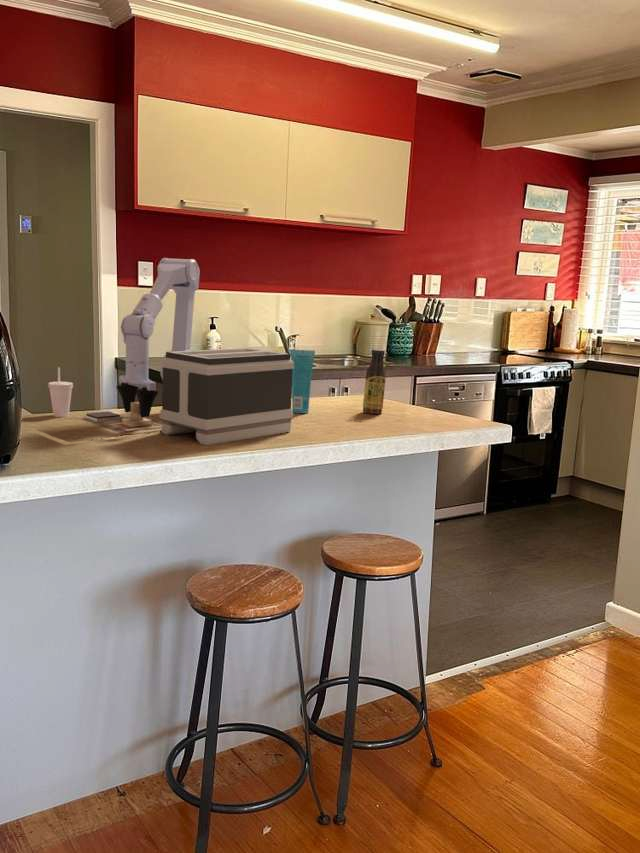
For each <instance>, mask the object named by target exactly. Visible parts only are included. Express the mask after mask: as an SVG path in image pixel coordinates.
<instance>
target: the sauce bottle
mask: <svg viewBox="0 0 640 853" xmlns="http://www.w3.org/2000/svg"><path fill="white" fill-rule="evenodd" d="M385 353H386V352H385V350H384V349H379V348H378V349H377V348H376V349H375V348H373V349H371V361H370V364H369V366H368V368H367V369H366V372H365V373H366V374H365V375H366V376H365V379H364V380H365V384H364V393H363V400H362V412H363V413H365V414H368V415H369V414H371V415H381V414H382V412H383V408H384V399H385V389H386V377H387V376H386V368H385V366H384V359H385V358H384V356H385V355H386V354H385Z"/></svg>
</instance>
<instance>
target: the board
mask: <svg viewBox="0 0 640 853" xmlns="http://www.w3.org/2000/svg"><path fill="white" fill-rule="evenodd" d="M118 414H119V415H120V416H123V419H131V412H126V413H118ZM143 418H146V419H150V420H152V426H149V427H139V428H128V427H125V426H122V420H119V421H110V422H100V423H96V422H93V421H90V420H87V419H84V417H78V418H77V419H79V420H81V421H84V422H87V423H90V424H93V425H96V426H99V427H102V428H104V429H106V430H107V429H108V430H111V431H114V432H116V433H121V434H122V435H121V434H119V437H122V436H124V434H123V433H126V436H130V435H132V436H133V433H132V432H136V433H135V435H139V434H141V432H140V431H145V432H143V434H148V433H149V431H150V430H154V431H151V433H154V432H158V430H159V429H160V432H162V420H160V419H159V418H155V417H151V416H149V417H143ZM157 429H158V430H157ZM148 430H149V431H148ZM129 432H131V433H129ZM127 433H128V434H127Z"/></svg>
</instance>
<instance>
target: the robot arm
mask: <svg viewBox="0 0 640 853" xmlns="http://www.w3.org/2000/svg"><path fill="white" fill-rule="evenodd" d="M200 271H201V269H200V267H199V265H198V263H197V260H196V259H193V258H190V259H189V258H187V259H184V258H168V257H163V258H161V259H160V261H159V264H158V265H157V277H156V280H155V281H154V284H153V285H152V288H151V290H150V291H149V293H145V294H143V295H142V296H141V298H140V300H139V302H138V303H137V304H136V306H135V308H134V309H133V311H132V312H131V313H130V314H127V315H126V316H124V317H123V319H122V321H121V325H120V331H121V334H122V337H123V338H122V339H123V343H124V344H125V374H124V375H119V376H118V377H119V378H118V381H119V382H118V383H119V384H118V385H116V389H117V391H118V393H119V395H120V398H121V401H122V405H123V409H124V412H125V413H131V402H136V396H137V400H138V402H139V407H140V415H141V417H150V414H151V412H152V407H153V403H154V401H155V399H156V397H157V395H158V394H159V390H158V389H157V382H155V381H153V380H151V379H150V378H149V370H150V369H149V366H150V364H149V360H150V359H149V358H150V357H149V356H150V355H149V349H150V348H149V347H150V346H149V345H150V344H149V343H150V342H149V341H150V339H149V338H151V336H152V335H153V333H154V330H155V328H154V327H155V324H156V321H155V320H156V319H157V317H158V315H159V314H160V312H161V310H162V309H163V303H162V302H163V301H162V300H163V299H164V298H165V297H166V296H167V294H168V292H169V291H170V290H173V292H174V294H175V303H174V306H175V307H174V319H173V332H172V343H171V344H172V345H171V350H169V352H172V351H191V346H192V345H191V344H192V334H193V322H194V321H193V320H194V308H195V295H196V291H198V290H199V285H200V284H199V283H200V273H201V272H200ZM164 358H166V354H165V355H164V356H163V359H164ZM160 377H161V380H163V367H162V366H161V367H160ZM139 388H141V389H139Z"/></svg>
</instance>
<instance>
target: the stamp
mask: <svg viewBox="0 0 640 853" xmlns="http://www.w3.org/2000/svg"><path fill="white" fill-rule="evenodd" d="M130 413H131V419H122V426H125V427H128V428H139V427H149V426H152V420H150V419H146V418H143V417H141V415H140V407H139V401H135V402H131V412H130Z"/></svg>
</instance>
